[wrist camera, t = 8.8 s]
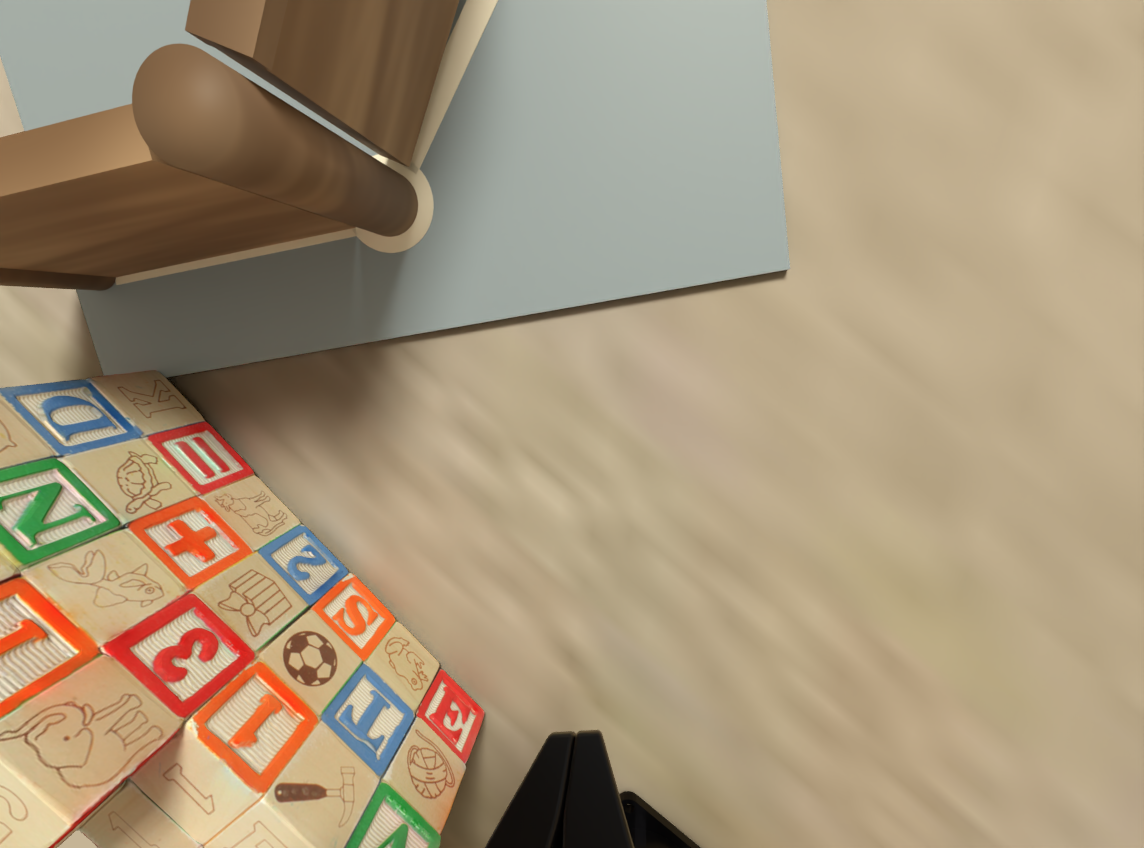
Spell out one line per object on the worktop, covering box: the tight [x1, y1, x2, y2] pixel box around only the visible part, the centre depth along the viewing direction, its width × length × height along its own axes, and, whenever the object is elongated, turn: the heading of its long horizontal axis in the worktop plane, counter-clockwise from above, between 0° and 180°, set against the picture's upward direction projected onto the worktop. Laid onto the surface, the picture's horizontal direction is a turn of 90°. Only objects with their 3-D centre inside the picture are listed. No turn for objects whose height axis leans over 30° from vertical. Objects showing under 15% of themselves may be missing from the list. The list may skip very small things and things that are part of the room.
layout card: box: [0, 0, 790, 378], centre depth 20 cm, size 16×29×1 cm, turn 99°
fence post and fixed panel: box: [0, 44, 418, 291], centre depth 17 cm, size 2×15×10 cm, turn 99°
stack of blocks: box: [0, 370, 485, 848], centre depth 18 cm, size 21×6×12 cm, turn 42°
